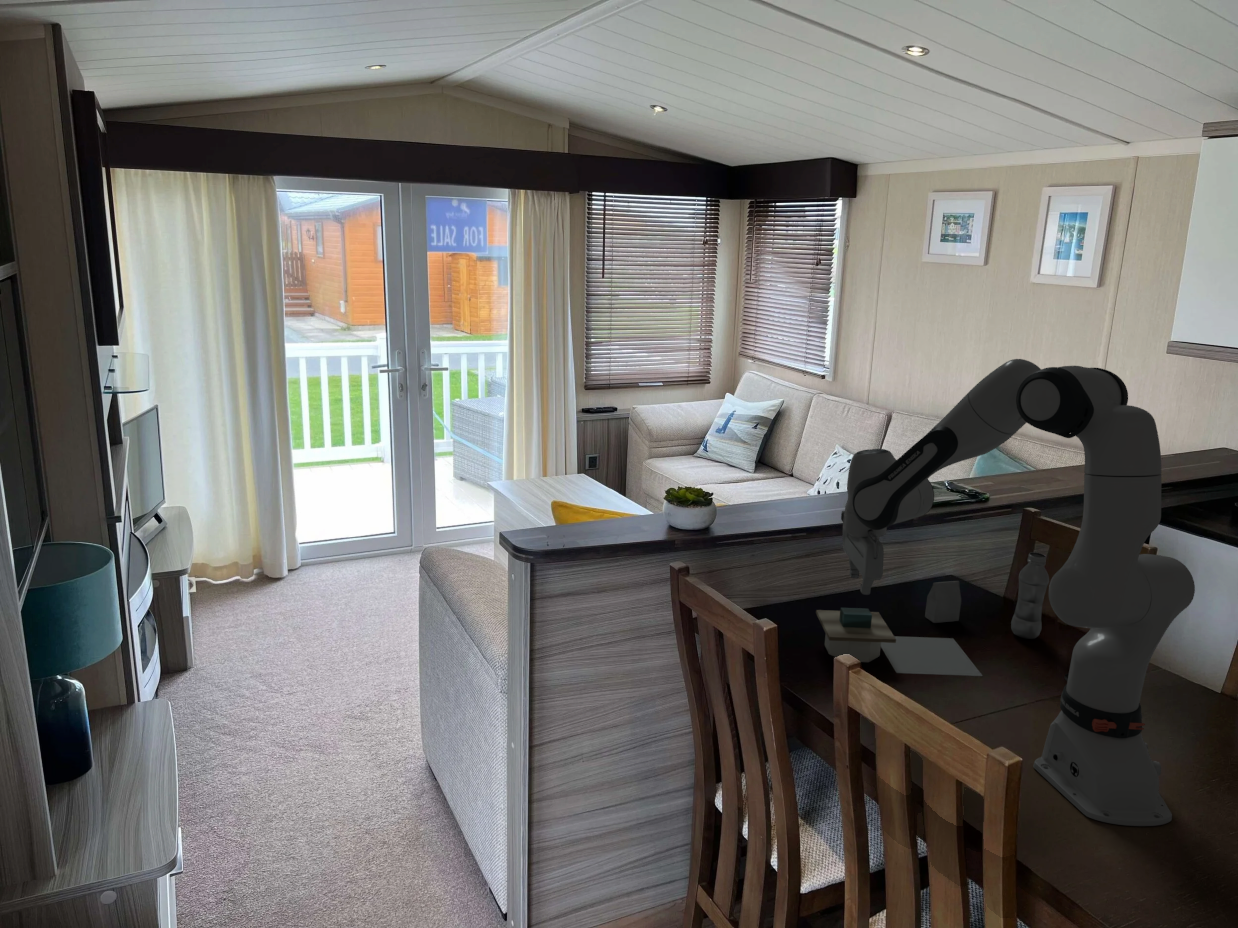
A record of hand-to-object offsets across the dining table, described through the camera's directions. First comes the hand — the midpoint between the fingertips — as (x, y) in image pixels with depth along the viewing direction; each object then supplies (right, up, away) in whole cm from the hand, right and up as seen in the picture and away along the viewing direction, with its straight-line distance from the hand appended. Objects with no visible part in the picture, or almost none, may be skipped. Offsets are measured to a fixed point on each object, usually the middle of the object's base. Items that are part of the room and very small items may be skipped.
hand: (859, 585), depth 196 cm
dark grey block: (+26, -12, +23) cm, 36 cm away
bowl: (-1, -15, +4) cm, 16 cm away
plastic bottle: (+43, -14, +16) cm, 48 cm away
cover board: (0, -10, +3) cm, 10 cm away
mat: (+15, -16, +3) cm, 23 cm away
